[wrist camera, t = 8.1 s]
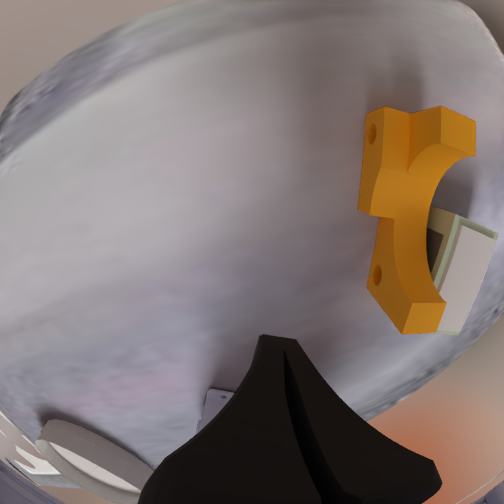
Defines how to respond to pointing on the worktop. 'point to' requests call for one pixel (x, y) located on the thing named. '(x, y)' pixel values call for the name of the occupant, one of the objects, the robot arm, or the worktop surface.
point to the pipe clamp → (408, 205)
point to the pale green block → (457, 263)
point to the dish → (93, 462)
